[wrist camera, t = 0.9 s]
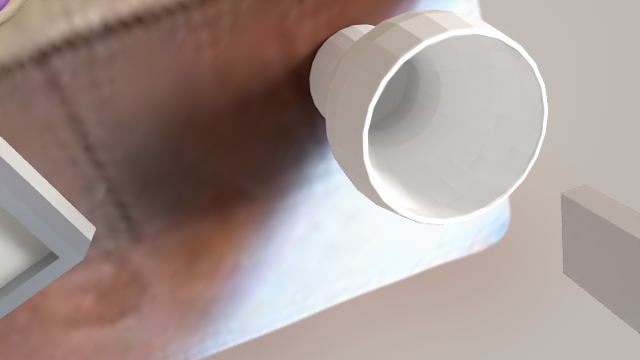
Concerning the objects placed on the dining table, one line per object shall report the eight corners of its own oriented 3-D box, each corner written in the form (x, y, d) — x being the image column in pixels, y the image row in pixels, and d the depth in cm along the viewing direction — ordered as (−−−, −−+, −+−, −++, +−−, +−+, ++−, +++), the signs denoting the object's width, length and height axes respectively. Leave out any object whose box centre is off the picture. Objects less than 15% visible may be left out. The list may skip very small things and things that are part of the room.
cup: (351, 174, 40) (434, 273, 26) (258, 75, 35) (300, 133, 22) (452, 82, 39) (593, 134, 25) (370, -31, 34) (488, -42, 21)
